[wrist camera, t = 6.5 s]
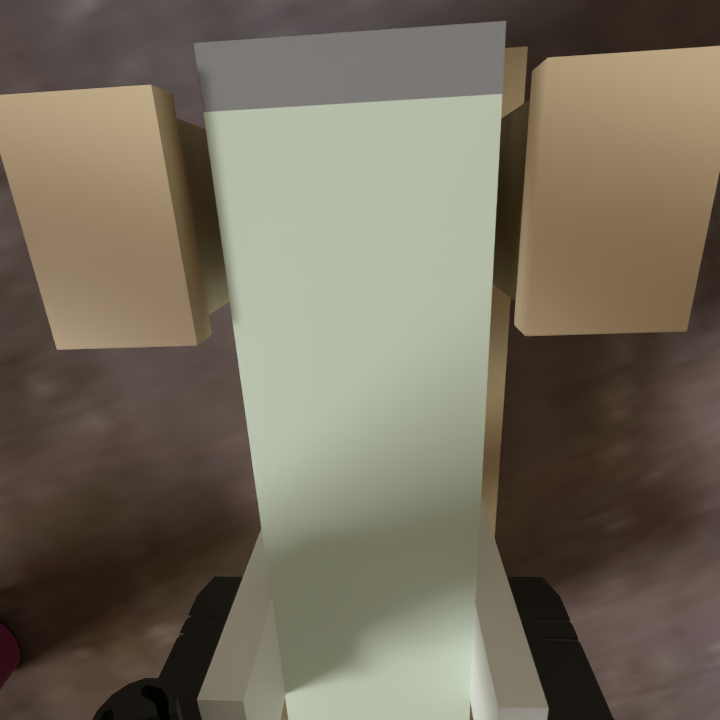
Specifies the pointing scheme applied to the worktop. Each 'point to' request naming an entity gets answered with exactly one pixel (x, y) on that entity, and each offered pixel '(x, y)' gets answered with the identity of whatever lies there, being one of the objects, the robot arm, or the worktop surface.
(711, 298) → the worktop surface
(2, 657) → the cup
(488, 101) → the rail
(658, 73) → the bar on post stand
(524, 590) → the robot arm
